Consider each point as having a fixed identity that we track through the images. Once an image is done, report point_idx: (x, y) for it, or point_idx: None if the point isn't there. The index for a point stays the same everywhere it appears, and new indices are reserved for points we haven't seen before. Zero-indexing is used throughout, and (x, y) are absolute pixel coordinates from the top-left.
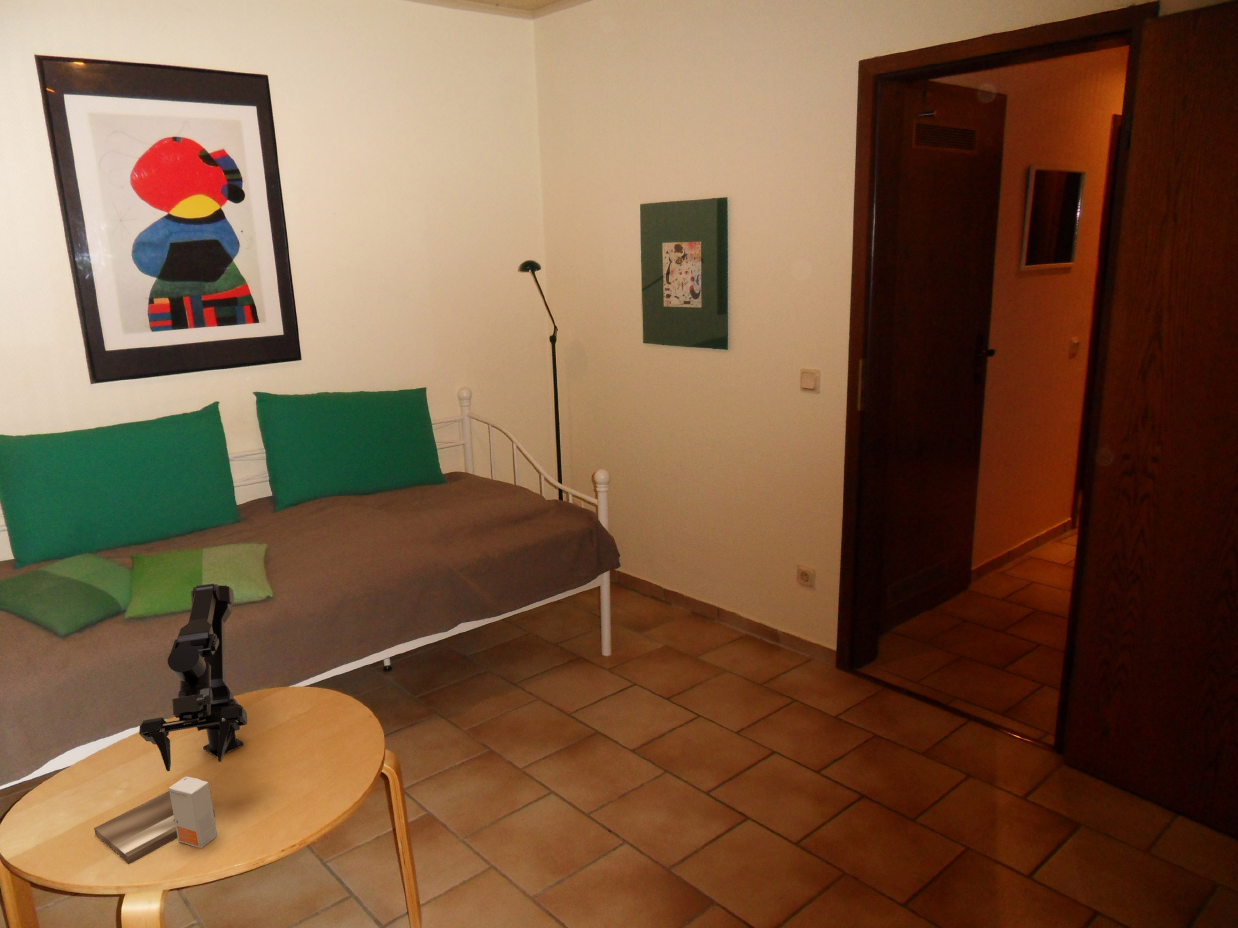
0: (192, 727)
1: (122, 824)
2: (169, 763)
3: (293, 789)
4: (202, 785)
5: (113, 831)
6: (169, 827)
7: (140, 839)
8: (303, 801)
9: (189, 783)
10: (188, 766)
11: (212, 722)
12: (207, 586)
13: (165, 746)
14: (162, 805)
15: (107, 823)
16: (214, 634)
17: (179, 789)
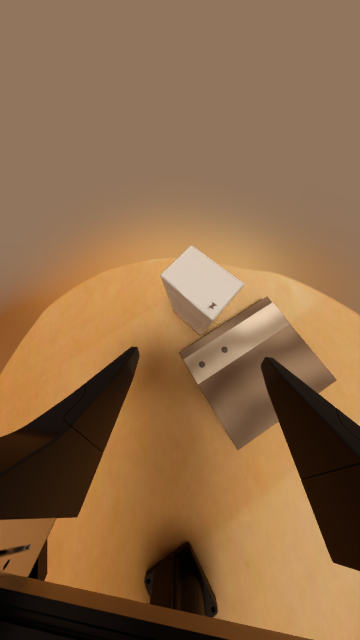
0: (224, 620)
1: (296, 371)
2: (271, 378)
3: (90, 372)
4: (171, 265)
5: (303, 358)
6: (229, 335)
7: (260, 323)
8: (83, 340)
9: (200, 283)
10: (233, 532)
11: (55, 606)
12: None
13: (342, 436)
14: (250, 398)
15: (320, 383)
16: None
17: (218, 269)
